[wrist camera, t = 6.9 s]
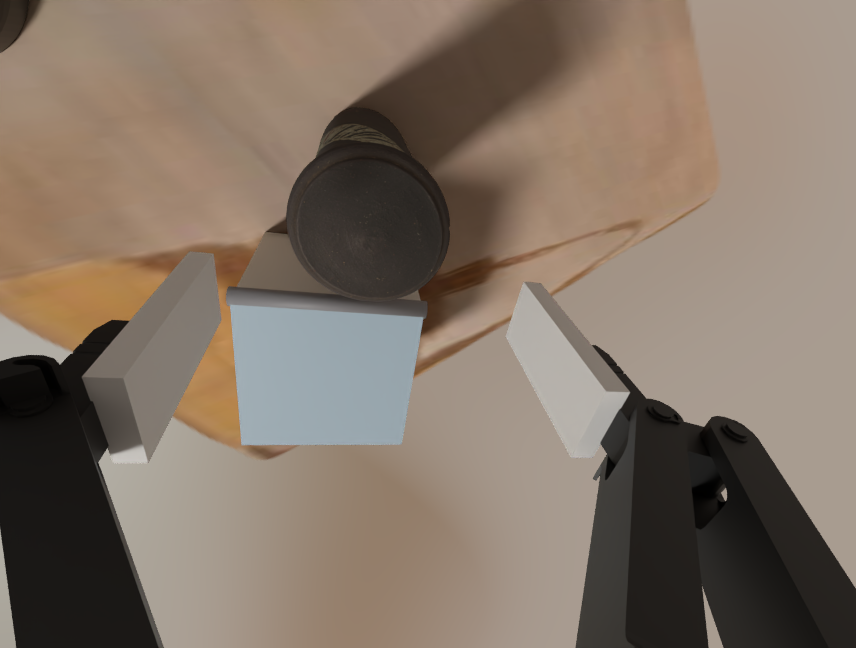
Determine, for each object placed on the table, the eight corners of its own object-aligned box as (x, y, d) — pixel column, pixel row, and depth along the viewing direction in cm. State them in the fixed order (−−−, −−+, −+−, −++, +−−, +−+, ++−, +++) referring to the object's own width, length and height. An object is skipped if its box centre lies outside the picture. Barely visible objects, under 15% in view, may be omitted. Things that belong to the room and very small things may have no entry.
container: (387, 87, 35) (416, 115, 18) (425, 186, 40) (475, 278, 23) (296, 130, 35) (245, 193, 19) (345, 221, 40) (338, 335, 24)
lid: (402, 434, 39) (403, 445, 38) (242, 434, 36) (238, 445, 35) (425, 297, 32) (428, 305, 31) (230, 283, 29) (225, 291, 28)
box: (265, 231, 40) (235, 289, 30) (406, 246, 43) (421, 303, 33) (270, 346, 47) (247, 424, 37) (390, 352, 50) (399, 425, 40)
